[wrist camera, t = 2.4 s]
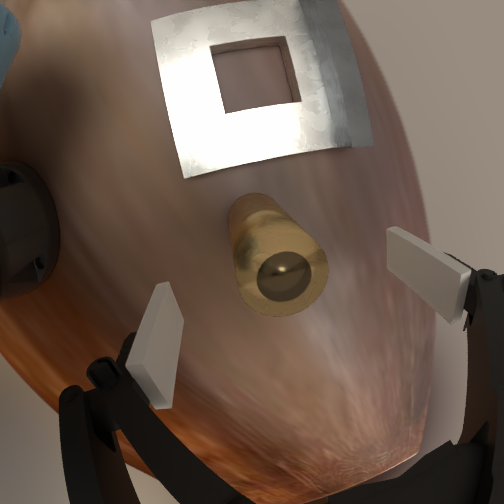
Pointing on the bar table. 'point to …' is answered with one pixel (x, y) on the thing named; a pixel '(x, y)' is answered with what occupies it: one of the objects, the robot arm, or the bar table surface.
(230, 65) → the bar table surface
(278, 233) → the bushing
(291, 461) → the bar table surface
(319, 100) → the plate
